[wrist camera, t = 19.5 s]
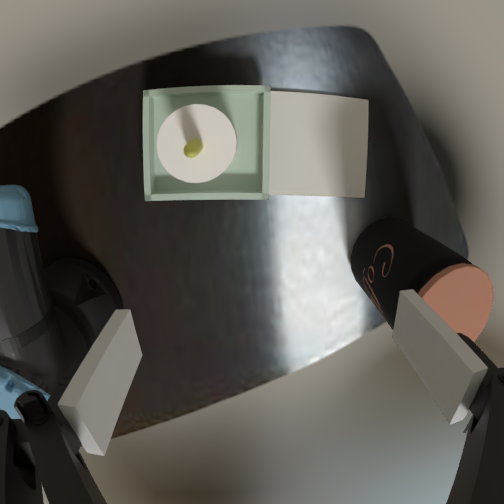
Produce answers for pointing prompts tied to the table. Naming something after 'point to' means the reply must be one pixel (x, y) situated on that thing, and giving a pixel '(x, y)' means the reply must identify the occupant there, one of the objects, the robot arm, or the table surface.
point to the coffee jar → (421, 275)
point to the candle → (196, 143)
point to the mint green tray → (248, 134)
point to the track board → (318, 145)
